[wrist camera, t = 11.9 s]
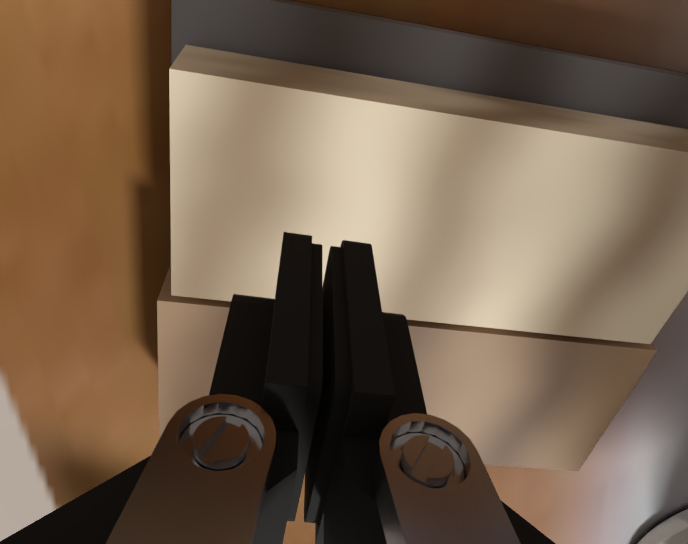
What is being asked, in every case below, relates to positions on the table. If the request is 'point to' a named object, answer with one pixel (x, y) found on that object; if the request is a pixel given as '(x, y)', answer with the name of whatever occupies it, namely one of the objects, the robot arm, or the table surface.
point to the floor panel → (430, 57)
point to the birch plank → (427, 196)
